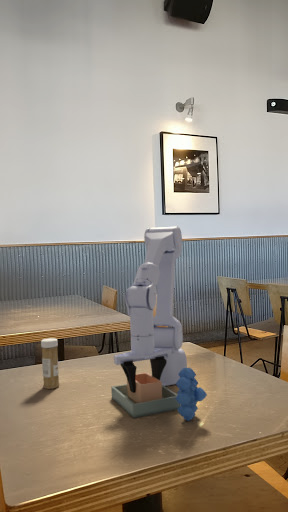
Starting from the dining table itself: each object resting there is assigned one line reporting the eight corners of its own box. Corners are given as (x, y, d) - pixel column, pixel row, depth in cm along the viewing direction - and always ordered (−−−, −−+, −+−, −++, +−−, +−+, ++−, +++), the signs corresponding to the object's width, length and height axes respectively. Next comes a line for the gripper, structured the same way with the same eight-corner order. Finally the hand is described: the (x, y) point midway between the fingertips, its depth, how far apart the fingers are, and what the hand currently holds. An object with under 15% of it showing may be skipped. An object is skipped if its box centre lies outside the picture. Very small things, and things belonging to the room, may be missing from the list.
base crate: (154, 390, 119) (153, 379, 118) (180, 408, 105) (180, 396, 105) (111, 398, 114) (111, 386, 114) (133, 418, 100) (133, 405, 100)
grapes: (203, 433, 91) (201, 374, 91) (171, 430, 93) (169, 373, 93) (212, 412, 102) (210, 360, 102) (183, 409, 104) (181, 358, 104)
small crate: (147, 393, 115) (146, 372, 114) (162, 404, 106) (161, 381, 106) (127, 397, 112) (126, 375, 112) (141, 408, 104) (140, 385, 104)
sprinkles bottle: (61, 387, 125) (60, 339, 124) (46, 390, 122) (44, 341, 122) (55, 383, 128) (53, 337, 128) (40, 386, 126) (38, 339, 126)
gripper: (120, 340, 102) (122, 399, 103) (176, 333, 108) (178, 389, 108) (110, 335, 109) (112, 390, 109) (163, 329, 115) (165, 381, 115)
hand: (144, 389), depth 109 cm, fingers closed on small crate, 5 cm apart
